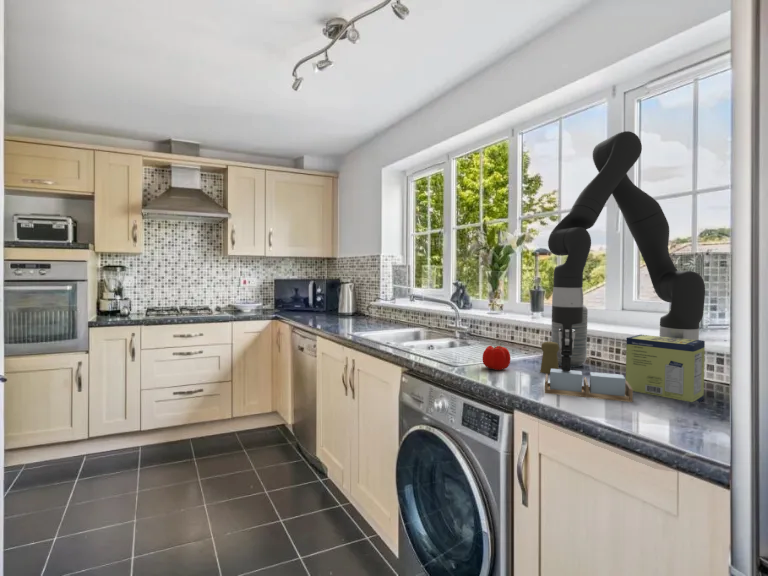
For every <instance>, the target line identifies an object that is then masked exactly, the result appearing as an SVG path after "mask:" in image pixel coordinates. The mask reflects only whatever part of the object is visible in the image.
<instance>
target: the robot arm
mask: <svg viewBox="0 0 768 576" xmlns="http://www.w3.org/2000/svg"><path fill="white" fill-rule="evenodd" d="M642 147H643V145H642V141H641V139H640V137H639V136H638V135H637V134H636V133H634V132H633V131H629V130H628V131H626V130H625V131H620V132H618V133H616V134H614V135H613V136H610V137H608V138H607V139H605V140H602V141H601V142H600V143H598V144H596V145H595V146H594V147H593V149H592V161H593V163H594V166H595V168H596V170H597V171H598V173H597V174H596V176H595V177H593V178H592V180H590V182H588V184H587V185H586V186H585V187H584V189H583V190H582V191H580V193H579V195H578V196H577V198H576V200H575V202H574V203H573V205H572V207H571V208H570V211H569V213H567V214H566V215H565V216H564V217H563V218H562V219H561V221H560V222H559V223H558V224H557V225H556V226H555V227H554V228H553V229H552V231H551V232H550V234H549V237H548V241H547V245H548V246H547V247H548V250H549V251H550V252H551V254H553V255H555V256H566V257H567V258H566V260H565V261H564V263H562V264H559V265H557V266H555V267H554V270H553V288H552V297H551V323H552V322H554V323H561V324H562V329H559V337H560V339H559V347H560V348H561V356H562V359H561V366H560V367H561V368H560V369H561V370H562V371H570V370H572V369H571V368H572V367H571V356H572V349H573V348H574V338H575V330H572V325H573V324H581V323H582V322H583V305H584V290H583V289H584V288H583V285H584V270H585V267H586V264H587V260H588V257H589V253H590V251H591V248H592V238H591V235H590V233H589V231H588V229H589V230H590V229H591V228H592V227H594V226H595V224H596V222H597V221H598V219H599V217H600V215H601V213H602V211H603V209H604V207H605V205H606V203H607V202H608V200H609V199H610V197H611V195H612V197H613V198H614V200H615V203H616V204H617V206H618V208H619V211H620V213H621V214H622V216H623V219H624V221H625V224H626V226H627V227H628V229H629V232H630V234H631V236H632V238H633V240H634V241H635V244H636V246H637V249H638V250H639V253H640V255H641V257H642V259H643V261H644V264H645V266H646V269H647V271H648V272H647V273H648V275H649V278H650V282H651V284H652V287H653V290H654V291H655V292H654V293H656V295H657V297H658V298H659V299H660V300H662V301H663V302H665V303H670V310H669V311H668V313H666V314H664V315H662V316H660V319H659V337H670V338H681V339H692V340H700V339H699V338H700V336H699V335H700V324H701V322H702V320H703V317H704V316H703V315H704V309H705V301H706V299H705V298H706V285H705V284H706V283H705V280H704V279H703V276H701V275H700V274H699V273H697V272H696V271H691V270H678V269H677V267H676V266H675V263H673V262H674V261H673V259H672V258H671V254H670V252H669V241H670V226H669V222H668V219H667V217H666V214H665V213H664V211H663V209H662V207H661V204H660V203H659V202H658V201H657V200H656V199H655V198H654V197H653V196H651V195H650V194H648V193H647V192H645V191H644V190H642V189H641V188H639V187H638V186H637V185H635V183H634V182H633V181H632V180H631V179H630V177H629V175H628V174H627V173H628V172H629V171H630V170H631V169H632V167H633V166H634V165H635V164H636V162H638V159H640V157H641V154H642V150H643V148H642Z"/></svg>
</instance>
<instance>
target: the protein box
mask: <svg viewBox="0 0 768 576" xmlns="http://www.w3.org/2000/svg"><path fill="white" fill-rule="evenodd" d="M705 343H706V341H705V340H701V339H699V340H692V339H681V338H670V337H660V335H659V336H658V335H649V334H636V335H633V336H628V337H626V343H625V344H626V348H625V349H626V350H625V356H626V357H625V381H627V382H628V383H629V385H630V386H631V388H632V389H633V392H637V393H642V394H647V395H652V396H658V397H663V398H667V399H674V400H679V401H684V402H690V403H693V402H696V401H697V403H699V404H701V402H702V400H703V399H705V398H704V397H705V395H704V394H705V393H704V392H705V391H704V388H705V387H704V386H705V385H704V383H705V350H706V346H705ZM703 401H704V400H703Z"/></svg>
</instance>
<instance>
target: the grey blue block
mask: <svg viewBox="0 0 768 576" xmlns="http://www.w3.org/2000/svg"><path fill="white" fill-rule="evenodd" d="M549 383H550V389H555V390H566V391H576V392H582V386H583V372H582V370H574V369H573V370H572V369H570V371H562V370H561V368H559V369H551V370H550V374H549Z"/></svg>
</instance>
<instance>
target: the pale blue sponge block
mask: <svg viewBox="0 0 768 576" xmlns="http://www.w3.org/2000/svg"><path fill="white" fill-rule="evenodd" d="M625 381H626V376H624V374H617V373H605V372H592V371H590V372H589V387H590V393H596V394H607V395H617V396H625Z"/></svg>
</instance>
